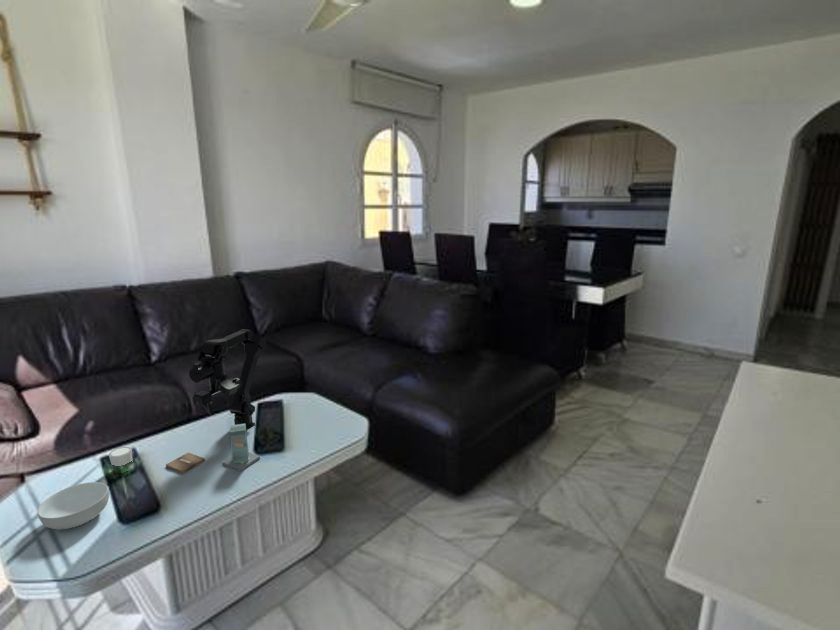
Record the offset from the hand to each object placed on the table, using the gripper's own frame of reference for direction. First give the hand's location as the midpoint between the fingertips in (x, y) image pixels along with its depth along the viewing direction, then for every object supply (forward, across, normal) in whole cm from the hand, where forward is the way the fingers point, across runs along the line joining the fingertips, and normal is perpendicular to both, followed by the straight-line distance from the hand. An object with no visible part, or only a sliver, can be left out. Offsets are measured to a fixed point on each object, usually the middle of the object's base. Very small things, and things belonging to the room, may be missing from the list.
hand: (220, 410), depth 178 cm
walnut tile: (+13, -18, -1) cm, 22 cm away
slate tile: (+13, -8, -18) cm, 24 cm away
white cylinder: (+13, -30, +16) cm, 37 cm away
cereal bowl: (+13, -52, +2) cm, 54 cm away
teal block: (+12, -8, -18) cm, 23 cm away
